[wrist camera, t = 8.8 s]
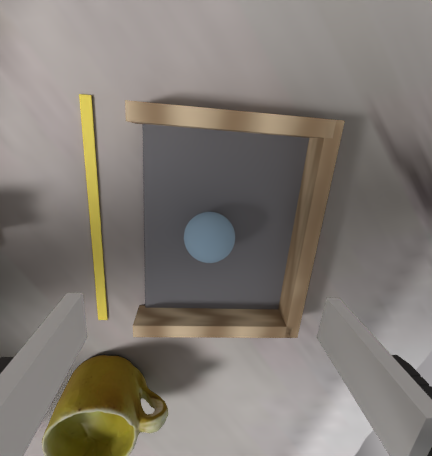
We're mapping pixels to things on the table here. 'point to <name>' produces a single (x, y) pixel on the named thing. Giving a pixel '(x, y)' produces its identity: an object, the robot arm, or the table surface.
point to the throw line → (93, 201)
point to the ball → (209, 237)
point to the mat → (223, 204)
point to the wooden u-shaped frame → (301, 235)
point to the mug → (102, 410)
